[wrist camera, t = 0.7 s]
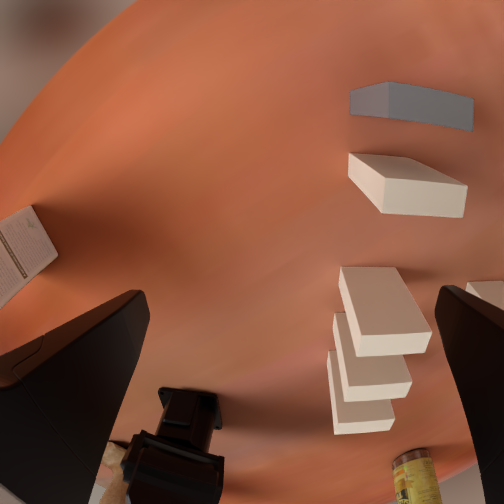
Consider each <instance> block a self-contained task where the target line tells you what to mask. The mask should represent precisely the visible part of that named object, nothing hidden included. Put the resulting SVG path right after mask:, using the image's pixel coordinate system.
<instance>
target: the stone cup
mask: <svg viewBox="0 0 504 504" xmlns="http://www.w3.org/2000/svg"><path fill="white" fill-rule="evenodd" d="M126 451H127V450H126V449H124V448H123V447H120V446H118V445H116V444H114V443H112V442H109V441H108V443H107V446H106V449H105V452H104V455H103V458H102V461H101V464H103V465H104V466H106V467H108V468H110V469H111V470H112V472H113V478H112V481H111V483H110V485H109V486H108V488H107V489H106V491H105V492H104V494H103V496H102V498H101V499H100V502H99V504H125V498H126V491H127V488H128V485H129V484H127V483H124V482H123V476H124V475H122V474H123V470H122V469H121V467H120V463H121V460H122V458H123V457H124V455H125V453H126Z"/></svg>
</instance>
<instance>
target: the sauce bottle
mask: <svg viewBox="0 0 504 504" xmlns="http://www.w3.org/2000/svg"><path fill="white" fill-rule="evenodd" d="M392 469H393V472H392V474H393V479H394V485H395V492H396V498H397V504H442V500H441V495H440V491H439V486H438V481H437V477H436V473H435V469H434V465H433V461H432V459H431V457H430V453H429V451H428V450H425V449H417V450H413V451H410V452H407V453H405V454H403V455H401V456H399V457H398V458H397V459H396V460H395V461H394V462H393V464H392Z"/></svg>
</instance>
